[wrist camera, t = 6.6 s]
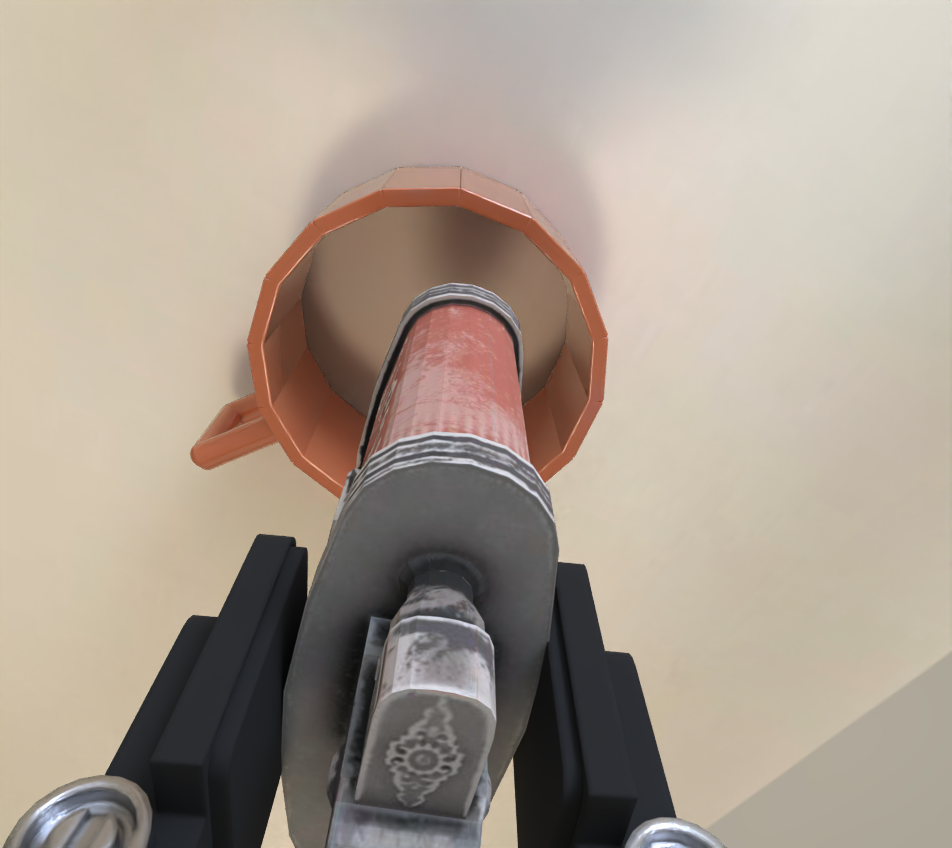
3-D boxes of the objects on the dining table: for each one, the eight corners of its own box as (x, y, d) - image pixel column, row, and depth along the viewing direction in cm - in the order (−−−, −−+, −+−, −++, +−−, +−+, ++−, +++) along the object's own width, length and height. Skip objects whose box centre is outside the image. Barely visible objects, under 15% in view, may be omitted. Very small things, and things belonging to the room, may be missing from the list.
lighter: (392, 266, 14) (255, 587, 5) (550, 302, 15) (671, 658, 6) (339, 570, 18) (203, 1069, 9) (467, 593, 18) (461, 1096, 9)
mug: (516, 112, 23) (529, 119, 18) (617, 387, 28) (651, 453, 23) (152, 281, 26) (77, 328, 21) (300, 510, 30) (268, 594, 25)
